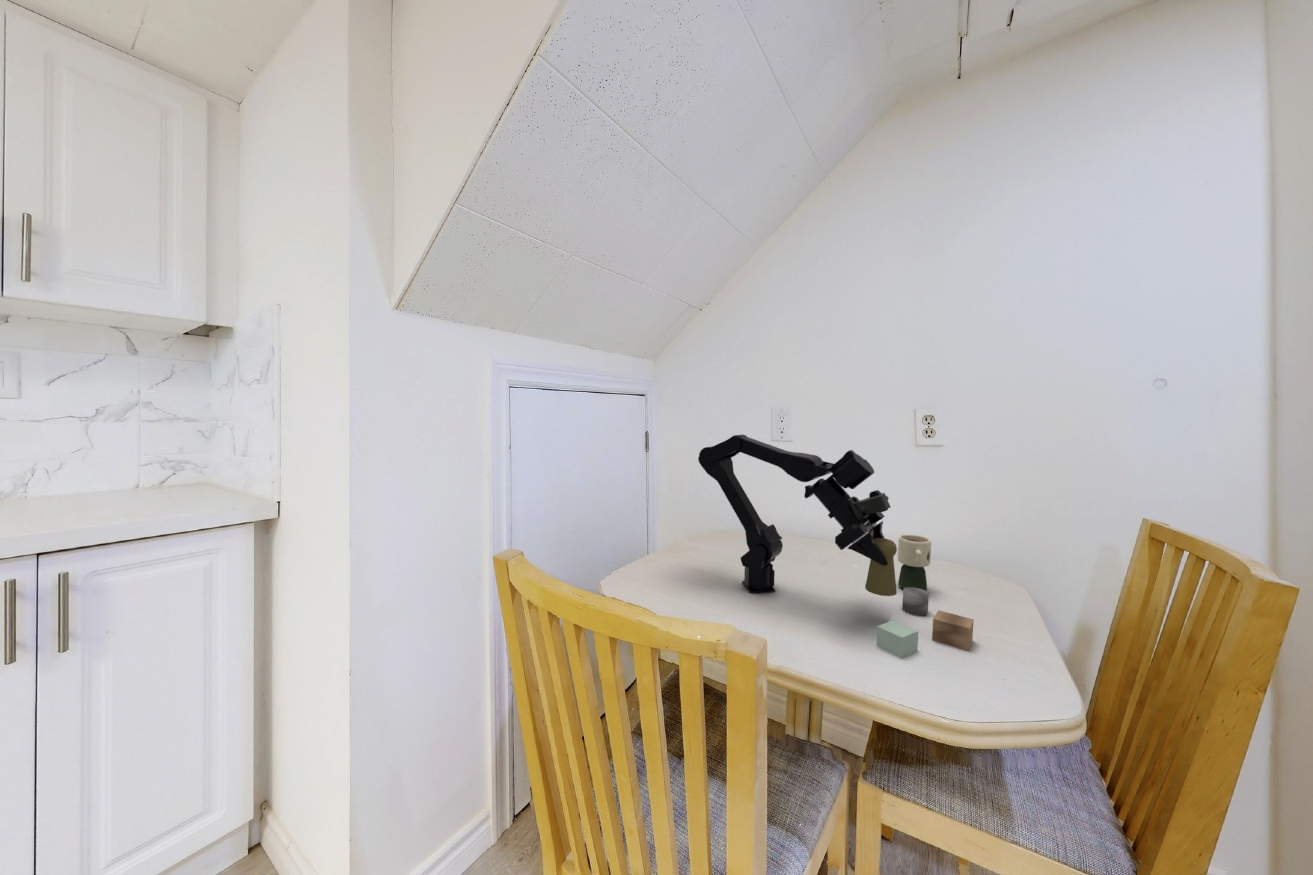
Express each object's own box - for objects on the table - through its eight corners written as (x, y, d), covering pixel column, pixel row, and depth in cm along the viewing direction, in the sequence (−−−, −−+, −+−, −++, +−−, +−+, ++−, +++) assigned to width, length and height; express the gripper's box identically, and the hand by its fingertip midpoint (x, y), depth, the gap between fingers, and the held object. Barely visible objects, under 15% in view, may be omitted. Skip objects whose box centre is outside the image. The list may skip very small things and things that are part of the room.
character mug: (934, 599, 109) (937, 545, 108) (901, 596, 111) (903, 543, 110) (922, 582, 119) (924, 533, 118) (892, 579, 121) (894, 531, 120)
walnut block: (932, 640, 90) (933, 618, 90) (937, 631, 94) (938, 610, 94) (968, 651, 86) (969, 628, 86) (972, 641, 90) (973, 619, 90)
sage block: (901, 658, 84) (902, 637, 84) (876, 646, 88) (877, 626, 88) (917, 651, 87) (918, 630, 86) (892, 639, 91) (893, 619, 91)
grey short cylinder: (912, 616, 100) (913, 596, 100) (897, 606, 105) (898, 587, 105) (933, 615, 101) (934, 595, 101) (917, 605, 106) (918, 586, 106)
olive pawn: (900, 597, 94) (903, 544, 93) (869, 594, 96) (871, 542, 95) (891, 585, 100) (894, 536, 99) (862, 583, 101) (864, 534, 101)
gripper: (854, 485, 91) (914, 551, 85) (876, 474, 106) (928, 530, 100) (812, 517, 96) (866, 582, 91) (839, 502, 111) (887, 557, 105)
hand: (889, 561), depth 97 cm, fingers closed on olive pawn, 5 cm apart
